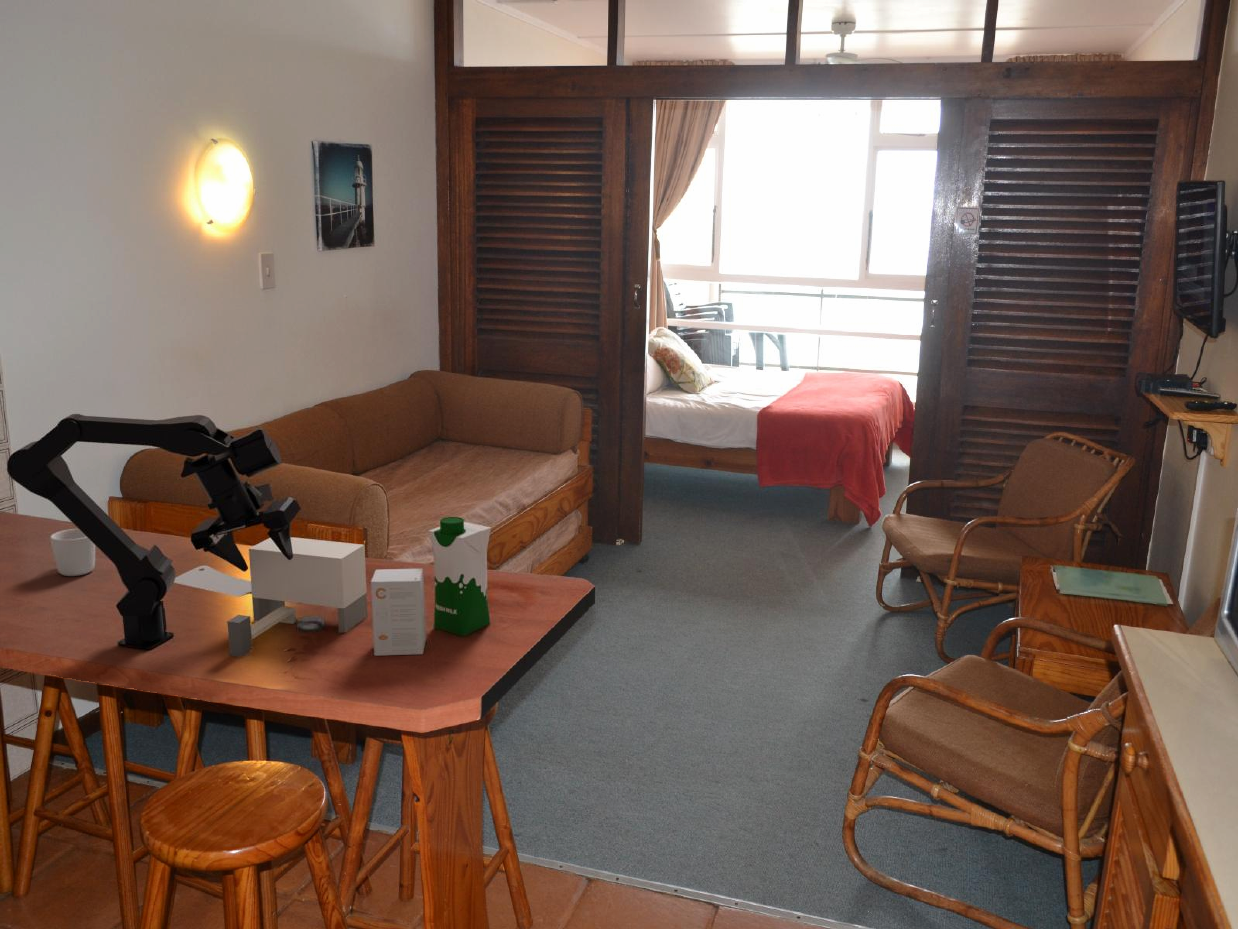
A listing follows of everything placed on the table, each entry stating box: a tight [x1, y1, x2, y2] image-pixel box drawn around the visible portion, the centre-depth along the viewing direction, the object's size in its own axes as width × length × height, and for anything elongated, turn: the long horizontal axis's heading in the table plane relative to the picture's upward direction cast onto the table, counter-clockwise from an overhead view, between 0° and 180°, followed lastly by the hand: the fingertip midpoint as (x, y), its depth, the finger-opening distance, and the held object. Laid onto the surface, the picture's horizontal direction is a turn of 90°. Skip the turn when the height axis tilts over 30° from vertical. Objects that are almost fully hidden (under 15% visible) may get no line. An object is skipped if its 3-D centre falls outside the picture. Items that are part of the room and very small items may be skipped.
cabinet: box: [248, 536, 369, 634], centre depth 188 cm, size 8×18×14 cm, turn 75°
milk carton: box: [428, 516, 492, 637], centre depth 185 cm, size 9×9×20 cm
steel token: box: [296, 615, 325, 634], centre depth 186 cm, size 4×4×2 cm
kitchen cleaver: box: [173, 565, 252, 598], centre depth 203 cm, size 31×2×10 cm
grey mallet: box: [226, 605, 297, 658], centre depth 180 cm, size 16×2×6 cm, turn 165°
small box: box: [370, 568, 427, 657], centre depth 176 cm, size 8×6×13 cm
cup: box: [49, 528, 96, 577], centre depth 212 cm, size 11×8×8 cm
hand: (268, 564), depth 181 cm, fingers open, 9 cm apart
